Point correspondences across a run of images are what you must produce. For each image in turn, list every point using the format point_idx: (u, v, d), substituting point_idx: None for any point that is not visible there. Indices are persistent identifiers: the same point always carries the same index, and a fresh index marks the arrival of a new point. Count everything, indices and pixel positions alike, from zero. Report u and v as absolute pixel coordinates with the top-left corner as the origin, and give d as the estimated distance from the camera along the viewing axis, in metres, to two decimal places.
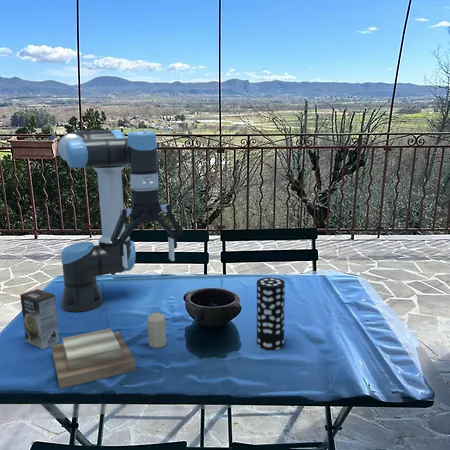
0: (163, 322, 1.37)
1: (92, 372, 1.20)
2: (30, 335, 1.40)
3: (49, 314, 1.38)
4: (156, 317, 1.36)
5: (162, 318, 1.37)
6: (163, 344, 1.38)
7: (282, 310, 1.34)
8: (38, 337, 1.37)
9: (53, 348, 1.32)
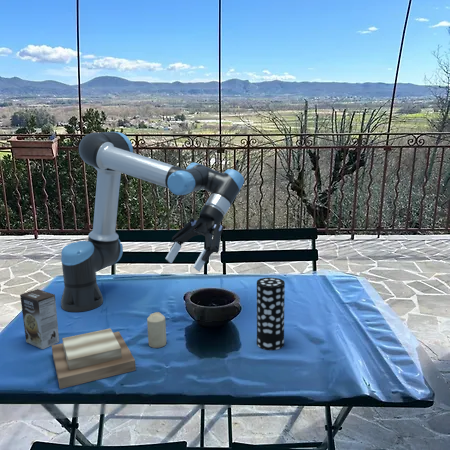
0: (163, 322, 1.37)
1: (92, 372, 1.20)
2: (30, 335, 1.40)
3: (49, 314, 1.38)
4: (156, 317, 1.36)
5: (162, 318, 1.37)
6: (163, 344, 1.38)
7: (282, 310, 1.34)
8: (38, 337, 1.37)
9: (53, 348, 1.32)
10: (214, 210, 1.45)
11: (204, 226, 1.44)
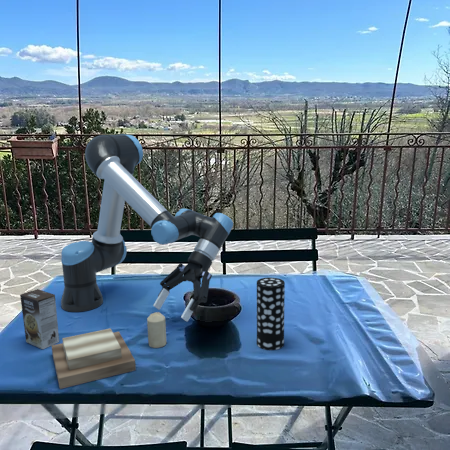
0: (163, 322, 1.37)
1: (92, 372, 1.20)
2: (30, 335, 1.40)
3: (49, 314, 1.38)
4: (156, 317, 1.36)
5: (162, 318, 1.37)
6: (163, 344, 1.38)
7: (282, 310, 1.34)
8: (38, 337, 1.37)
9: (53, 348, 1.32)
10: (203, 257, 1.43)
11: (192, 273, 1.42)
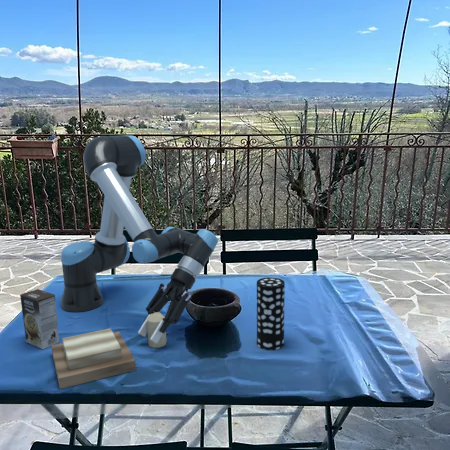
0: None
1: (92, 372, 1.20)
2: (30, 335, 1.40)
3: (49, 314, 1.38)
4: (156, 317, 1.36)
5: (162, 318, 1.37)
6: (163, 344, 1.38)
7: (282, 310, 1.34)
8: (38, 337, 1.37)
9: (53, 348, 1.32)
10: (186, 275, 1.40)
11: (174, 291, 1.39)
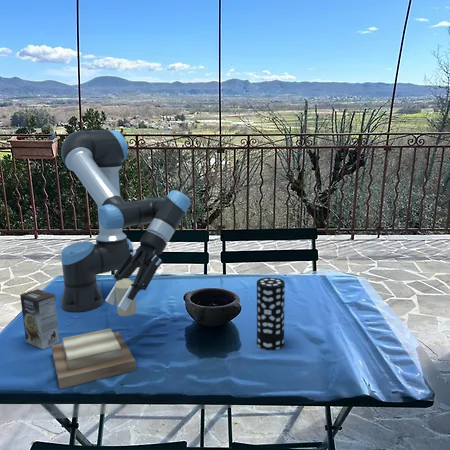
0: None
1: (92, 372, 1.20)
2: (30, 335, 1.40)
3: (49, 314, 1.38)
4: (124, 283, 1.27)
5: None
6: (133, 312, 1.29)
7: (282, 310, 1.34)
8: (38, 337, 1.37)
9: (53, 348, 1.32)
10: (155, 238, 1.31)
11: (144, 256, 1.30)
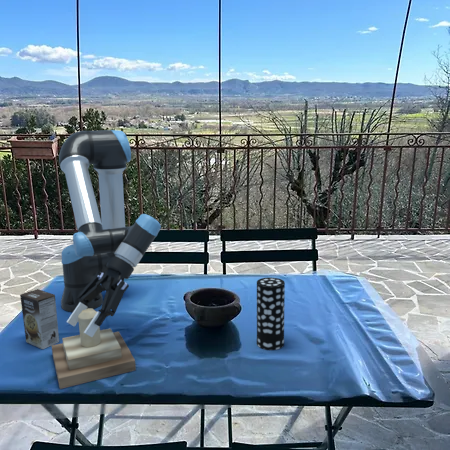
0: None
1: (92, 372, 1.20)
2: (30, 335, 1.40)
3: (49, 314, 1.38)
4: (87, 314, 1.25)
5: (94, 315, 1.25)
6: (96, 343, 1.27)
7: (282, 310, 1.34)
8: (38, 337, 1.37)
9: (53, 348, 1.32)
10: (121, 263, 1.29)
11: (109, 281, 1.28)
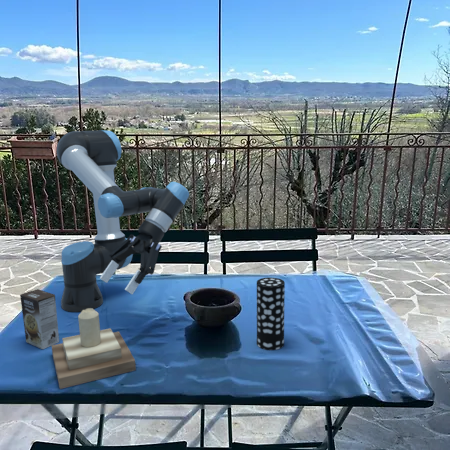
0: (95, 319, 1.25)
1: (92, 372, 1.20)
2: (30, 335, 1.40)
3: (49, 314, 1.38)
4: (87, 314, 1.25)
5: (94, 315, 1.26)
6: (96, 343, 1.27)
7: (282, 310, 1.34)
8: (38, 337, 1.37)
9: (53, 348, 1.32)
10: (153, 227, 1.34)
11: (141, 244, 1.33)
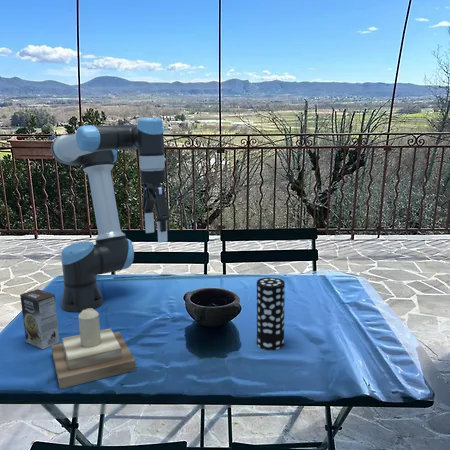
0: (95, 319, 1.25)
1: (92, 372, 1.20)
2: (30, 335, 1.40)
3: (49, 314, 1.38)
4: (87, 313, 1.25)
5: (94, 315, 1.26)
6: (96, 343, 1.27)
7: (282, 310, 1.34)
8: (38, 337, 1.37)
9: (53, 348, 1.32)
10: (148, 175, 1.34)
11: (149, 194, 1.37)
